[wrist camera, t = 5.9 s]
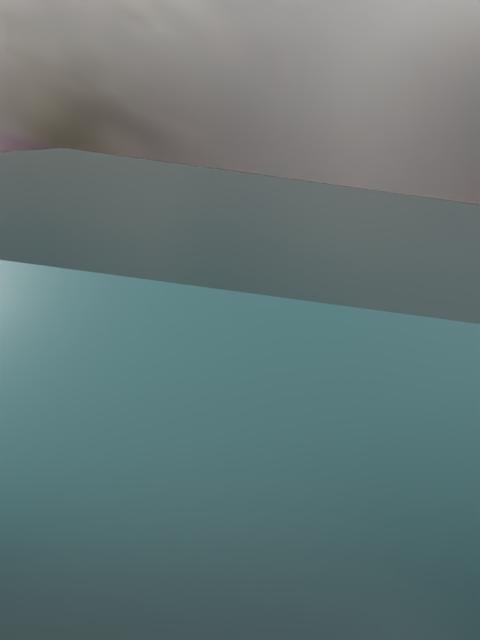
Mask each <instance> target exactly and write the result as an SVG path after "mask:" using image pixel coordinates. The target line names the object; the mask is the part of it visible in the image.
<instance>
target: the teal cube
mask: <svg viewBox="0 0 480 640" xmlns="http://www.w3.org/2000/svg"><path fill="white" fill-rule="evenodd" d="M0 640H480V205H478V204H471V203H463V202H456V201H449V200H441V199H434V198H427V197H419V196H412V195H405V194H397V193H390V192H383V191H375V190H368V189H361V188H353V187H346V186H339V185H332V184H324V183H317V182H310V181H302V180H295V179H288V178H280V177H273V176H266V175H258V174H251V173H244V172H236V171H229V170H222V169H214V168H207V167H200V166H193V165H185V164H178V163H171V162H163V161H156V160H149V159H141V158H134V157H127V156H119V155H112V154H105V153H97V152H90V151H83V150H75V149H68V148H52V149H36V150H21V151H6V152H0Z"/></svg>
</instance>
